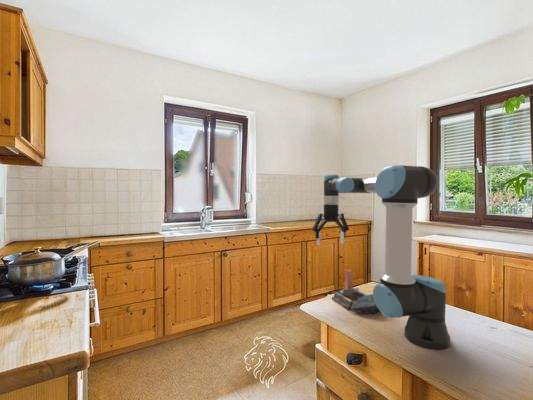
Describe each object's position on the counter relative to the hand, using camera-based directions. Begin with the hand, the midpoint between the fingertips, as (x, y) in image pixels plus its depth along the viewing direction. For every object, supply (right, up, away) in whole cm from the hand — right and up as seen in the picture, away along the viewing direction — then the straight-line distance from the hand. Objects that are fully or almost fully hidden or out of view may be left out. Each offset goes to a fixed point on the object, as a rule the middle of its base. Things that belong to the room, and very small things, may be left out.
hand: (330, 244), depth 149 cm
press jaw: (+9, -27, -4) cm, 28 cm away
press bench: (+10, -28, -8) cm, 31 cm away
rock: (+13, -29, -19) cm, 37 cm away
